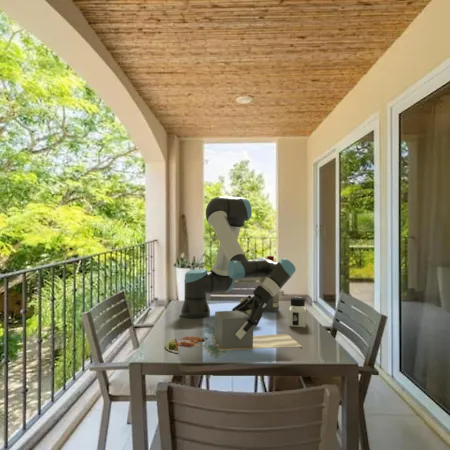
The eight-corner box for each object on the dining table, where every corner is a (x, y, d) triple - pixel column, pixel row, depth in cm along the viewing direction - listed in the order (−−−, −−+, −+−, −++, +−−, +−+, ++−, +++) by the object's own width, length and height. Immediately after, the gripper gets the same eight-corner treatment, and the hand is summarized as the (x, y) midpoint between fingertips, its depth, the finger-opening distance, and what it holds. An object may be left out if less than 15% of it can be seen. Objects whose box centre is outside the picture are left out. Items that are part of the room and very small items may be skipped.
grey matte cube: (214, 339, 151) (215, 311, 151) (243, 337, 154) (243, 310, 154) (222, 349, 140) (222, 319, 140) (252, 346, 143) (253, 317, 143)
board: (212, 341, 154) (212, 337, 154) (287, 337, 160) (287, 334, 160) (219, 354, 138) (219, 350, 138) (301, 350, 144) (301, 346, 144)
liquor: (259, 311, 208) (260, 256, 208) (263, 307, 216) (264, 255, 216) (276, 312, 204) (276, 257, 204) (279, 309, 213) (280, 256, 213)
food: (218, 352, 142) (218, 344, 141) (172, 358, 135) (172, 350, 135) (203, 337, 159) (203, 330, 158) (162, 342, 152) (162, 335, 152)
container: (305, 327, 176) (306, 299, 176) (288, 326, 178) (289, 298, 178) (305, 323, 184) (305, 296, 184) (289, 322, 185) (289, 295, 185)
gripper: (287, 303, 141) (250, 348, 136) (258, 292, 164) (225, 329, 159) (275, 290, 139) (237, 334, 134) (247, 280, 163) (213, 318, 157)
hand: (230, 332), depth 147 cm, fingers open, 13 cm apart
